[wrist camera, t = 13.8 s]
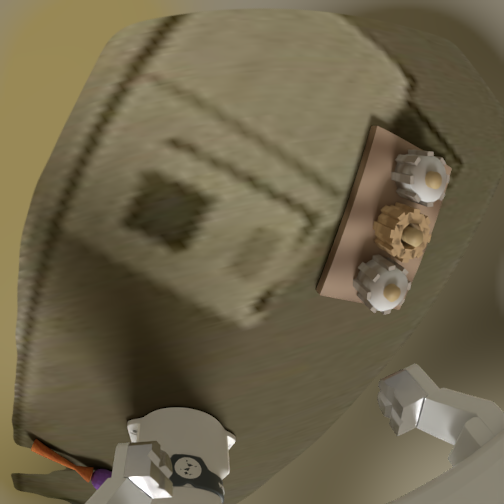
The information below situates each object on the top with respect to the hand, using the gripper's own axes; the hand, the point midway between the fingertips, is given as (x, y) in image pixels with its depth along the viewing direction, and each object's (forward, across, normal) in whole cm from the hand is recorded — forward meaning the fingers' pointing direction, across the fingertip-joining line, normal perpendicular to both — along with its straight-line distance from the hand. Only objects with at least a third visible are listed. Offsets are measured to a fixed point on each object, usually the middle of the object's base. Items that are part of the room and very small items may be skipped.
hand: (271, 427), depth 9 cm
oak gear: (+26, -21, +5) cm, 34 cm away
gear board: (+27, -21, +5) cm, 35 cm away
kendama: (+28, +44, +39) cm, 65 cm away
